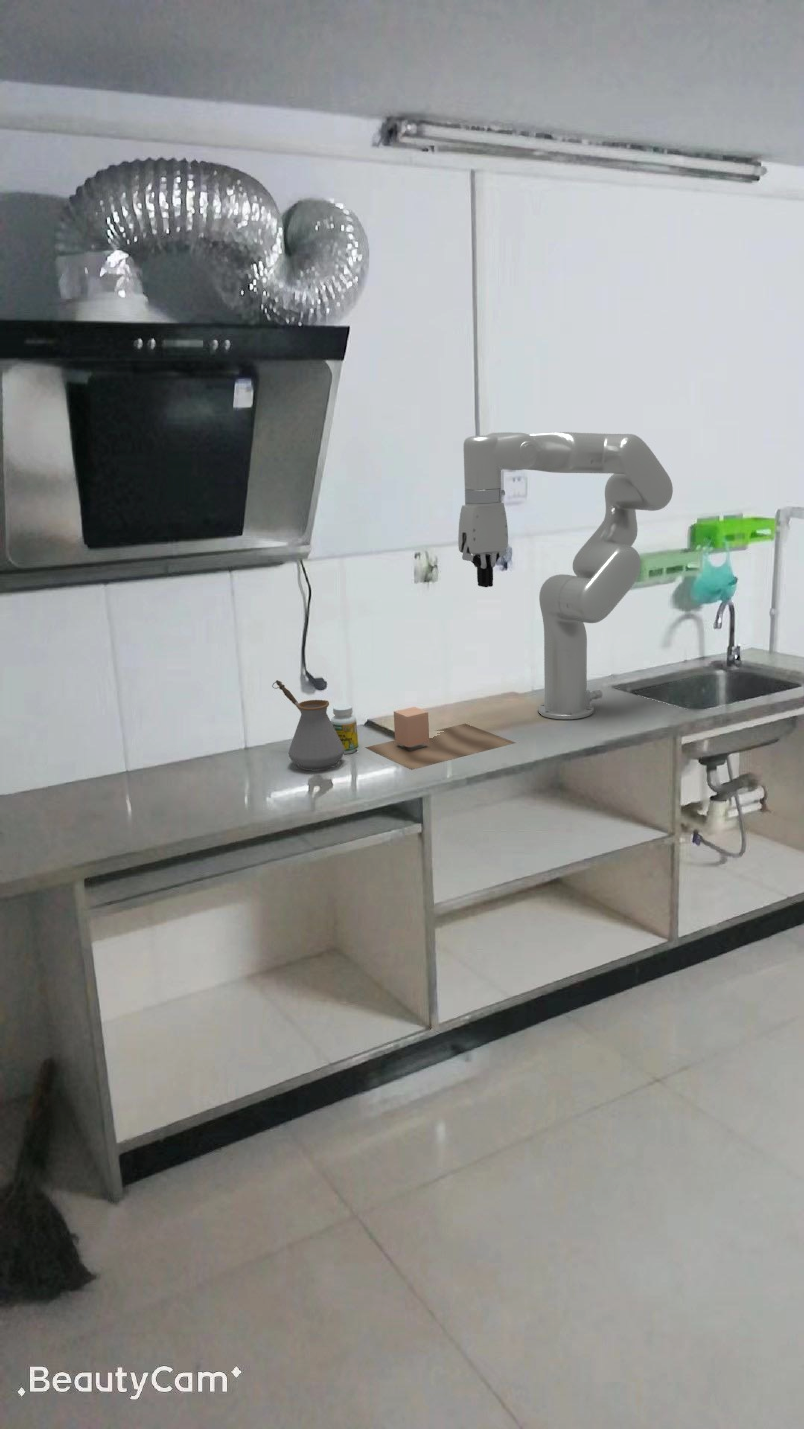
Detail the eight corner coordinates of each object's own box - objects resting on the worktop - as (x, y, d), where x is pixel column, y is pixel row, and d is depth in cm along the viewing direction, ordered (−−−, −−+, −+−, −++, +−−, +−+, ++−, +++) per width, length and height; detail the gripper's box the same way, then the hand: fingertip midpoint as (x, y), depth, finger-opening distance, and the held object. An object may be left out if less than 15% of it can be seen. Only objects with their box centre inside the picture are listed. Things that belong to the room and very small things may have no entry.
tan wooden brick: (415, 736, 224) (414, 706, 222) (429, 742, 219) (428, 712, 217) (395, 741, 221) (393, 711, 219) (408, 747, 217) (406, 716, 215)
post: (415, 741, 223) (413, 710, 221) (426, 746, 220) (425, 714, 218) (397, 746, 221) (396, 714, 219) (409, 751, 217) (407, 718, 215)
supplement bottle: (360, 746, 225) (357, 703, 222) (356, 754, 220) (353, 710, 217) (335, 746, 225) (332, 703, 223) (331, 755, 220) (328, 711, 217)
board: (465, 726, 235) (465, 723, 234) (515, 746, 220) (515, 742, 220) (365, 751, 221) (364, 747, 221) (411, 773, 207) (411, 769, 207)
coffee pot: (356, 765, 213) (351, 693, 209) (306, 778, 207) (301, 704, 203) (304, 741, 230) (299, 674, 226) (257, 752, 224) (251, 684, 220)
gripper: (500, 493, 223) (502, 579, 228) (442, 500, 216) (446, 588, 221) (523, 495, 217) (524, 583, 222) (464, 501, 210) (467, 593, 215)
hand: (485, 586), depth 222 cm, fingers closed
